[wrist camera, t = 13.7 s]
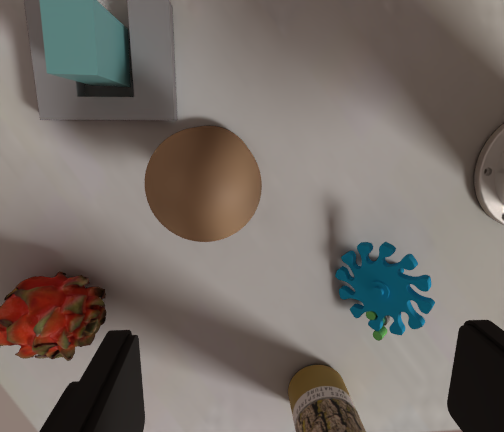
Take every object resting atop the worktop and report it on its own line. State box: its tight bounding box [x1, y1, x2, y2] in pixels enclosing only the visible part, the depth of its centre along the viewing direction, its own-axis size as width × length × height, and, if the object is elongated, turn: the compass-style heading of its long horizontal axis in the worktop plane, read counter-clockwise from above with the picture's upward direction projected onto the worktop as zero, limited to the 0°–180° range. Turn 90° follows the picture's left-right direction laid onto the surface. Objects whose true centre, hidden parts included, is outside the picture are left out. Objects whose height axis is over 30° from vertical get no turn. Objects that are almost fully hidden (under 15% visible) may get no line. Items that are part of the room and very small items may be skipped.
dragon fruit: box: [0, 272, 106, 361], centre depth 36 cm, size 8×8×12 cm
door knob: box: [145, 126, 262, 242], centre depth 33 cm, size 9×9×9 cm
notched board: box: [24, 0, 177, 120], centre depth 33 cm, size 12×10×2 cm
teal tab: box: [39, 0, 131, 87], centre depth 30 cm, size 4×5×9 cm
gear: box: [335, 242, 435, 340], centre depth 39 cm, size 11×6×10 cm
